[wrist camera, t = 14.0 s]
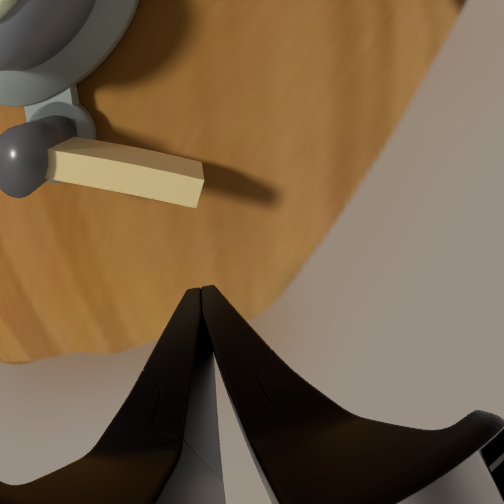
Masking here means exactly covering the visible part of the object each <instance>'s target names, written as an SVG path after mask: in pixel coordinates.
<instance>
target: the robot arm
mask: <svg viewBox="0 0 504 504" xmlns="http://www.w3.org/2000/svg"><path fill="white" fill-rule="evenodd" d="M213 352H214V353H213ZM214 355H215V359H216V362H217V364H218V368H219V371H220V373H221V376H222V379H223V382H224V385H225V388H226V390H227V393H228V396H229V399H230V402H231V404H232V407H233V410H234V412H235V415H236V418H237V420H238V423H239V426H240V428H241V431H242V433H243V436H244V439H245V441H246V443H247V446H248V448H249V451H250V453H251V456H252V458H253V461H254V463H255V465H256V468H257V470H258V472H259V475H260V477H261V479H262V482H263V484H264V486H265V488H266V491H267V493H268V495H269V497H270V499H271V502H272V504H504V428H503V427H504V419H502V418H501V417H499V416H497V415H494V414H492V413H488V412H485V411H481V410H475V411H473V412H472V413H470V414H468V415H467V416H466V417H464V418H463V419H461V420H460V421H459V422H457V423H456V424H455V425H452V426H450V427H448V428H445V429H440V430H422V429H416V428H410V427H405V426H399V425H394V424H389V423H384V422H379V421H375V420H370V419H366V418H362V417H359V416H357V415H354V414H352V413H350V412H349V411H347V410H345V409H343V408H342V407H341V406H339V405H338V404H336V403H335V402H334V401H332V400H331V399H329V398H328V397H327V396H325V395H324V394H323V393H321V392H320V391H319V390H317V389H316V388H315V387H313V386H312V385H311V384H309V383H308V382H306V381H305V380H304V379H303V378H302V377H300V376H299V375H298V374H297V373H296V372H294V371H293V370H292V369H291V368H290V367H289V366H288V365H287V364H286V363H285V362H284V361H283V360H282V359H281V358H280V357H279V356H277V354H276V353H275V352H274V351H273V350H272V349H270V347H269V346H268V345H267V344H266V343H265V342H264V341H263V339H262V338H261V337H260V336H259V335H258V334H257V333H256V332H255V330H254V329H253V328H252V327H251V326H250V325H249V324H248V323H247V322H246V321H245V319H244V318H243V317H242V316H241V315H240V314H239V313H238V312H237V310H236V309H235V308H234V307H233V306H232V305H231V304H230V303H229V301H228V300H227V299H226V298H225V297H224V296H223V295H222V293H221V292H220V291H219V290H218V289H217V288H216V286H214V285H209V286H203V287H201V289H200V288H199V287H198V288H192V289H188V290H187V291H186V292H185V294H184V296H183V297H182V299H181V301H180V303H179V304H178V306H177V308H176V310H175V312H174V313H173V315H172V317H171V319H170V321H169V322H168V324H167V326H166V328H165V330H164V331H163V333H162V335H161V337H160V339H159V340H158V342H157V344H156V346H155V348H154V350H153V352H152V353H151V355H150V357H149V359H148V361H147V363H146V365H145V366H144V369H143V370H144V371H142V372H141V374H140V376H139V378H138V380H137V381H136V383H135V385H134V387H133V389H132V390H131V392H130V394H129V396H128V397H127V399H126V400H125V402H124V404H123V405H122V407H121V408H120V410H119V411H118V413H117V414H116V416H115V417H114V418H113V420H112V422H111V423H110V425H109V426H108V427H107V429H106V430H105V432H104V433H103V435H102V436H101V438H100V439H99V441H98V442H97V444H96V445H95V446H94V447H93V449H92V450H91V451H90V452H89V453H87V454H86V455H85V456H84V457H82V458H81V459H79V460H77V461H75V462H73V463H71V464H69V465H67V466H65V467H63V468H61V469H58V470H56V471H54V472H52V473H50V474H48V475H45V476H43V477H41V478H39V479H36V480H34V481H32V482H29V483H26V484H22V485H9V484H6V483H3V482H1V481H0V504H225V503H226V502H225V493H224V484H223V474H222V464H221V453H220V443H219V429H218V415H217V401H216V384H215V365H214ZM502 428H503V429H502ZM501 429H502V430H501ZM490 439H491V440H490ZM489 440H490V441H489ZM482 446H483V447H482Z"/></svg>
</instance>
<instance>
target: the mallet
mask: <svg viewBox="0 0 504 504" xmlns="http://www.w3.org/2000/svg"><path fill="white" fill-rule="evenodd" d="M48 179H51V180H57V181H63V182H68V183H74V184H79V185H85V186H90V187H95V188H101V189H106V190H111V191H116V192H121V193H126V194H131V195H136V196H141V197H146V198H151V199H155V200H160V201H165V202H170V203H174V204H179V205H183V206H188V207H193V208H196V207H197V203H198V200H199V197H200V193H201V190H202V187H203V183H204V175H203V168H202V162H200V161H196V160H191V159H187V158H183V157H179V156H174V155H170V154H165V153H161V152H156V151H151V150H147V149H142V148H137V147H132V146H126V145H121V144H116V143H110V142H104V141H99V140H92V139H86V138H80V137H77V135H76V131H75V129H74V127H73V125H72V124H71V122H70V121H69V120H68V119H66V118H65V117H62V116H59V115H51V116H47V117H44V118H40V119H37V120H33V121H30V122H27V123H24V124H21V125H17V126H14V127H12V128H9V129H7V130H6V131H4V132H3V133H2V134H1V135H0V189H1V190H2V191H3V192H4V193H6V194H7V195H9V196H11V197H15V198H22V197H26V196H28V195H29V194H31V193H32V192H33V191H35V190H36V189H37V188H38V187H40V186H41V185H42V184H43V183H45V182H46V181H47V180H48Z"/></svg>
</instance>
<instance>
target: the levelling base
mask: <svg viewBox="0 0 504 504" xmlns="http://www.w3.org/2000/svg"><path fill="white" fill-rule="evenodd" d="M138 3H139V0H0V105H3V106H12V107H14V106H24V109H25V115H26V121H27V122H30V121H33V120H37V119H40V118H44V117H47V116H51V115H59V116H62V117H65V118H66V119H68V120H69V121H70V122H71V124H72V125H73V127H74V129H75V131H76V135H77V137H80V138H86V139H92V140H96V139H97V133H96V126H95V123H94V120H93V118H92V116H91V114H90V113H89V111H88V110H87V109H86V108H85V107H84V106H82V105H81V104H79V98H78V91H77V84H79V83H80V82H81V81H83V80H84V79H85V78H87V77H88V76H89V75H90V74H91V73H92V72H93V71H95V70H96V69H97V68H98V67H99V66H100V65H101V64H102V63H103V61H104V60H105V59H106V58H107V57H108V56H109V55H110V53H111V52H112V51H113V50H114V49H115V47H116V46H117V45H118V43H119V42H120V40H121V39H122V37H123V36H124V34H125V32H126V31H127V29H128V27H129V25H130V23H131V21H132V19H133V17H134V15H135V12H136V9H137V6H138ZM47 182H55V183H56V182H62V181H57V180H51V179H48V180H47Z"/></svg>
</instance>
